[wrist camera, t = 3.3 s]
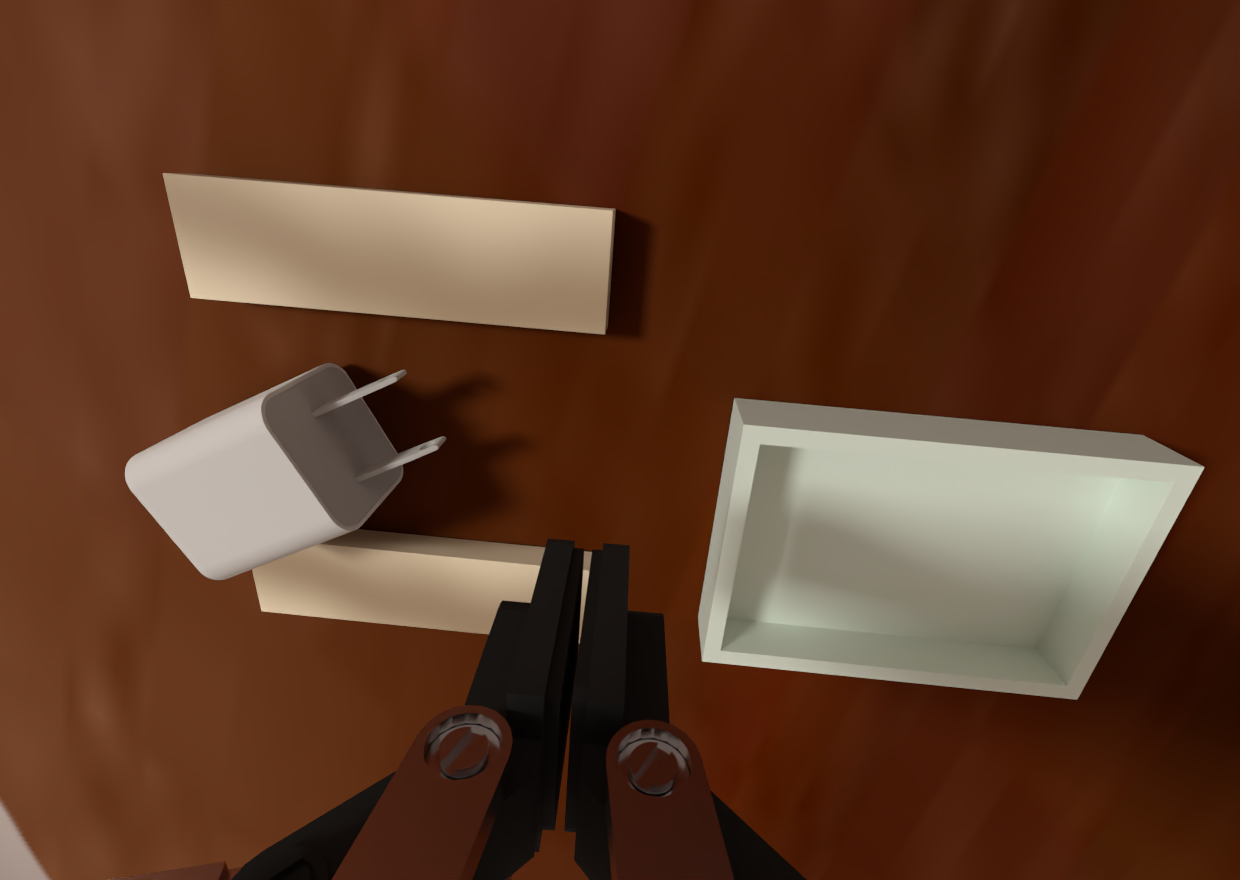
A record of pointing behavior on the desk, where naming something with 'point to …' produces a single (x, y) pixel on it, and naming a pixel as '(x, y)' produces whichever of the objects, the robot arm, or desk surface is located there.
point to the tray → (930, 545)
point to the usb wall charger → (272, 473)
